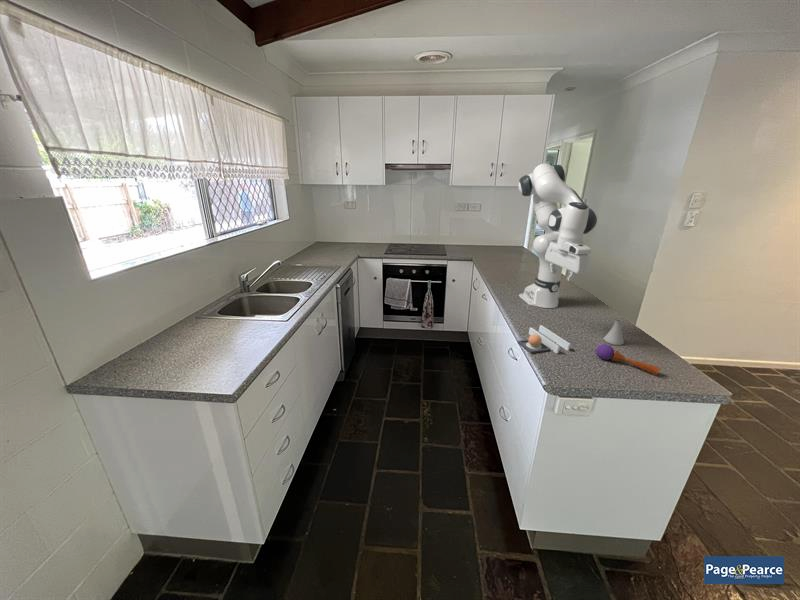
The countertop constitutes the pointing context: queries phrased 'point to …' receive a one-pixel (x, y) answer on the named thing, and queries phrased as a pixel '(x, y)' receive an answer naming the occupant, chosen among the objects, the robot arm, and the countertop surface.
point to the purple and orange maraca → (623, 358)
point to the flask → (615, 333)
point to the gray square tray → (533, 349)
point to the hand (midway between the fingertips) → (560, 276)
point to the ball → (534, 340)
